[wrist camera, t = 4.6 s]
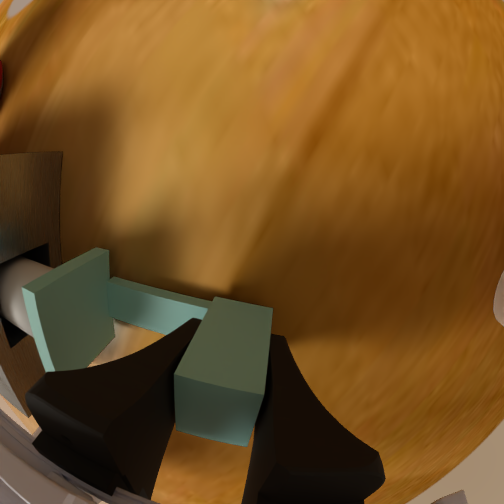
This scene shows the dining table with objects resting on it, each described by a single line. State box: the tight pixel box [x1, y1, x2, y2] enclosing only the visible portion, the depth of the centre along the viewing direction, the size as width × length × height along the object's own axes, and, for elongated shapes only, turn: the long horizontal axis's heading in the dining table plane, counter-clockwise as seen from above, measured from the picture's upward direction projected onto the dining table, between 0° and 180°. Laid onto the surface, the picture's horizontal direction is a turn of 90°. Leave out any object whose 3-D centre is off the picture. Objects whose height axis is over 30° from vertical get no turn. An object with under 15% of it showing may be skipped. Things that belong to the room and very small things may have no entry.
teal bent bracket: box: [0, 247, 273, 447], centre depth 10 cm, size 5×14×5 cm, turn 81°
